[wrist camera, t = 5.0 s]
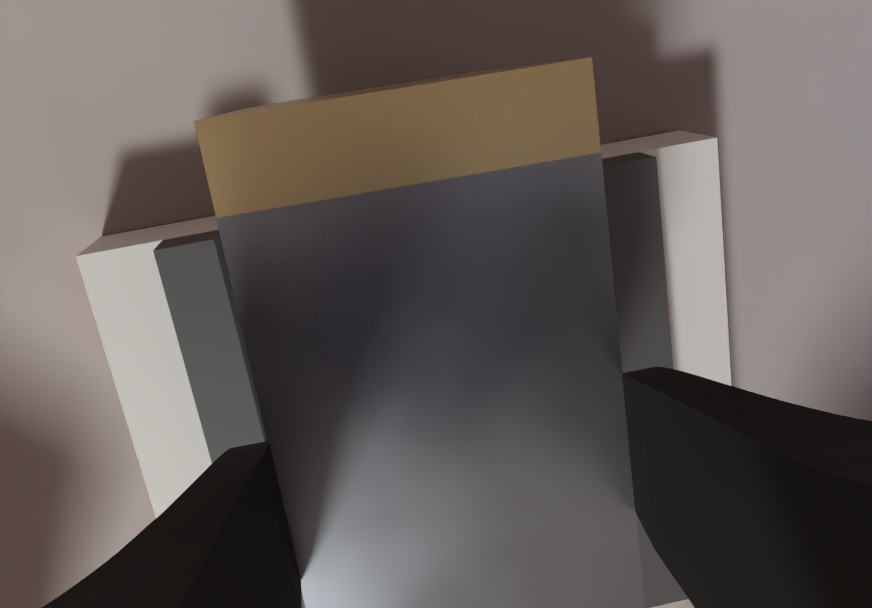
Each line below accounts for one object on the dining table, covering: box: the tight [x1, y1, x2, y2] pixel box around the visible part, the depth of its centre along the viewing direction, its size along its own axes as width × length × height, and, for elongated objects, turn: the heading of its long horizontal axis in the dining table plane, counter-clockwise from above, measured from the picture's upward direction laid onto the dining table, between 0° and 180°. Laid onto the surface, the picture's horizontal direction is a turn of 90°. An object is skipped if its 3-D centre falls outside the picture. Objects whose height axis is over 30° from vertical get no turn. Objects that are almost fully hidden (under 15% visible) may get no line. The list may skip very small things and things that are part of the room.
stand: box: [76, 130, 731, 608], centre depth 20 cm, size 14×11×3 cm
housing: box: [194, 57, 645, 608], centre depth 15 cm, size 10×5×6 cm, turn 9°
